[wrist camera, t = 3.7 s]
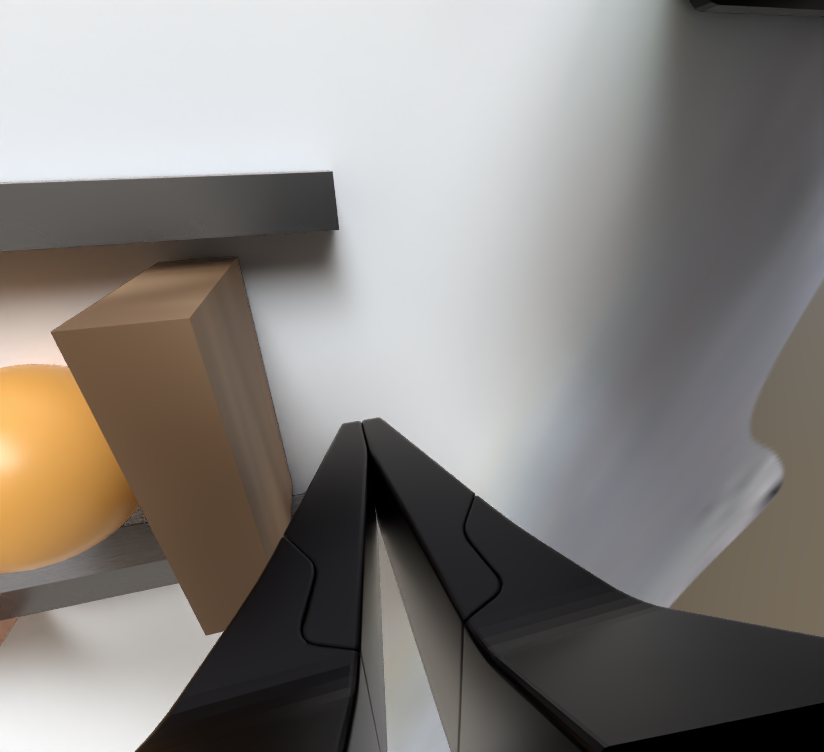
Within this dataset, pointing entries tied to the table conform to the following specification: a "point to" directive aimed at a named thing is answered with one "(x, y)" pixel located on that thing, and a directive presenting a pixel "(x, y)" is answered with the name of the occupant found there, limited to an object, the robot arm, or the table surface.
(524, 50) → the table surface
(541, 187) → the table surface
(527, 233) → the table surface
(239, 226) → the track
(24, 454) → the ball
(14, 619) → the pocket
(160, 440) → the brown wooden block
